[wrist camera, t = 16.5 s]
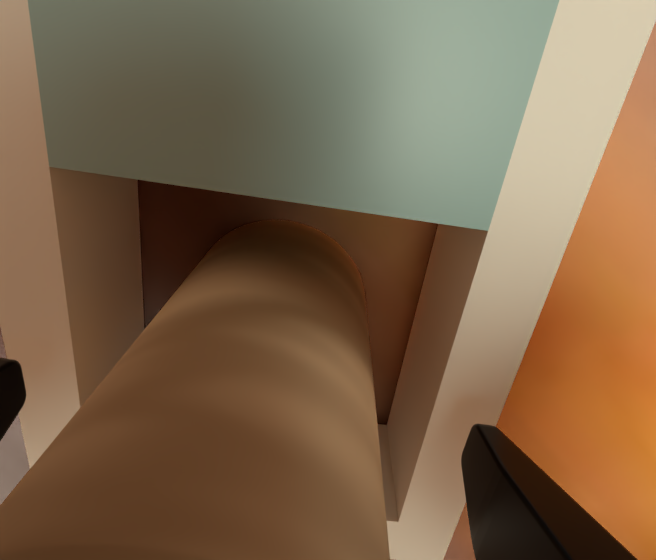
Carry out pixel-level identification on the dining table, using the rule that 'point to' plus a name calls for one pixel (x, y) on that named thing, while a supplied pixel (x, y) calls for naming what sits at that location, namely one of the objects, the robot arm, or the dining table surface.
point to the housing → (309, 179)
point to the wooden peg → (224, 422)
